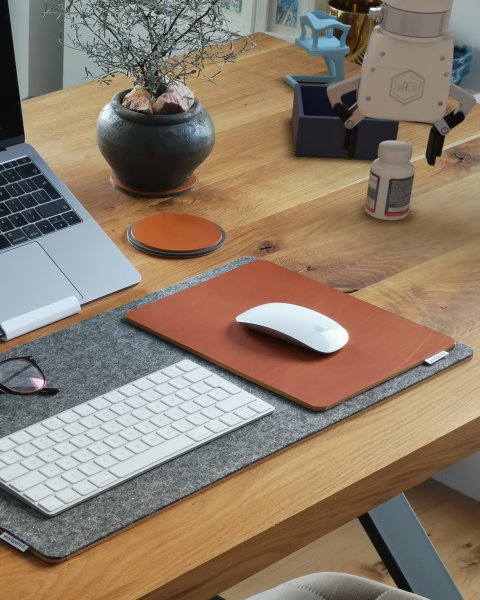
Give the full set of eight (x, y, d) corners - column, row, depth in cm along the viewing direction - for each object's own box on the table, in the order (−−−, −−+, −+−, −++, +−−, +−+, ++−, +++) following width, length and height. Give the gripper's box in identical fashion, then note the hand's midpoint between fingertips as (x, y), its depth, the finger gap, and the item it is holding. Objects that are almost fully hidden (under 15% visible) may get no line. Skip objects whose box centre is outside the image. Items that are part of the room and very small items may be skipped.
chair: (351, 92, 176) (361, 17, 170) (302, 96, 174) (311, 21, 168) (331, 76, 182) (340, 3, 176) (284, 80, 181) (291, 7, 175)
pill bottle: (413, 209, 140) (425, 144, 135) (399, 225, 136) (410, 158, 132) (373, 199, 143) (383, 134, 138) (358, 214, 139) (367, 148, 134)
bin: (382, 124, 164) (388, 87, 161) (393, 161, 153) (399, 121, 150) (291, 120, 166) (295, 83, 163) (294, 156, 154) (298, 116, 151)
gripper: (340, 25, 125) (319, 165, 133) (499, 35, 123) (467, 176, 132) (335, 6, 131) (316, 141, 140) (486, 15, 129) (456, 151, 138)
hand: (389, 158), depth 136 cm, fingers open, 9 cm apart
